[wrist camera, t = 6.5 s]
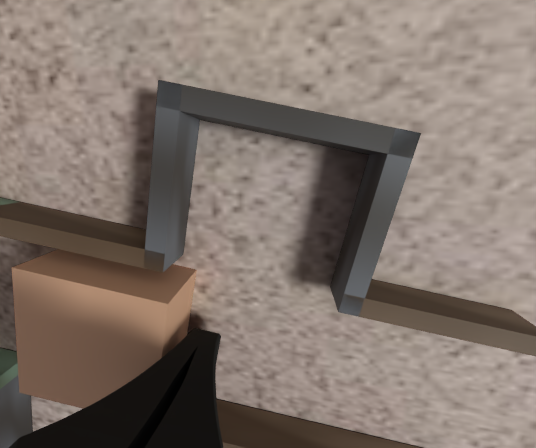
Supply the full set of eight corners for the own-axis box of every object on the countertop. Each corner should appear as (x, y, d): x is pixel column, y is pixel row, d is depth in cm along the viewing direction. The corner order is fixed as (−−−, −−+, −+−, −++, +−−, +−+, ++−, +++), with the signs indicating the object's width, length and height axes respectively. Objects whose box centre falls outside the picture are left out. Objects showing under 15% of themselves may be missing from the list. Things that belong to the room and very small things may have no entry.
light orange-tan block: (181, 369, 14) (153, 425, 11) (75, 344, 14) (19, 392, 11) (196, 269, 12) (168, 304, 9) (76, 241, 12) (11, 267, 9)
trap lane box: (396, 533, 15) (412, 586, 13) (-69, 417, 16) (-118, 452, 14) (581, 176, 10) (652, 180, 8) (-143, 28, 11) (-239, -1, 9)
